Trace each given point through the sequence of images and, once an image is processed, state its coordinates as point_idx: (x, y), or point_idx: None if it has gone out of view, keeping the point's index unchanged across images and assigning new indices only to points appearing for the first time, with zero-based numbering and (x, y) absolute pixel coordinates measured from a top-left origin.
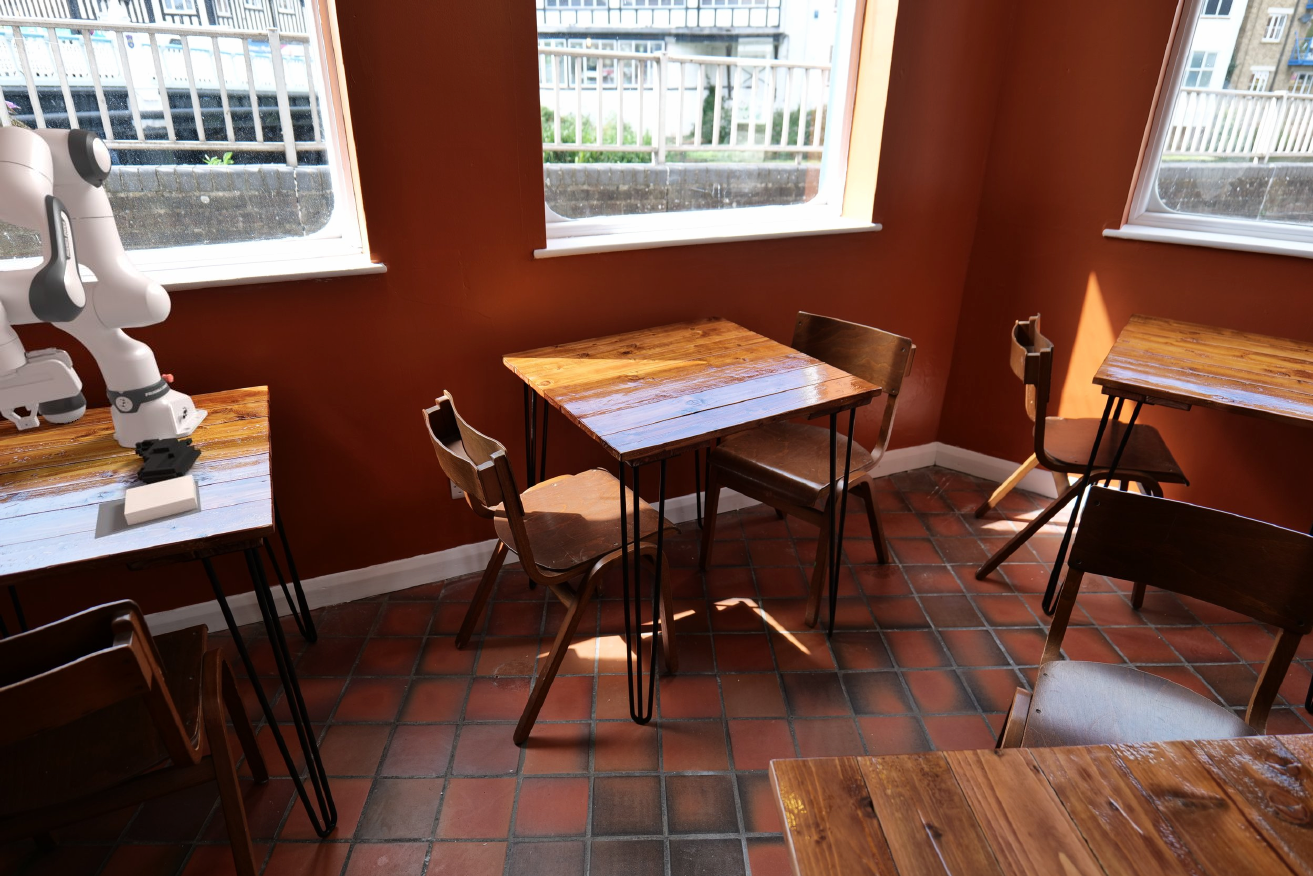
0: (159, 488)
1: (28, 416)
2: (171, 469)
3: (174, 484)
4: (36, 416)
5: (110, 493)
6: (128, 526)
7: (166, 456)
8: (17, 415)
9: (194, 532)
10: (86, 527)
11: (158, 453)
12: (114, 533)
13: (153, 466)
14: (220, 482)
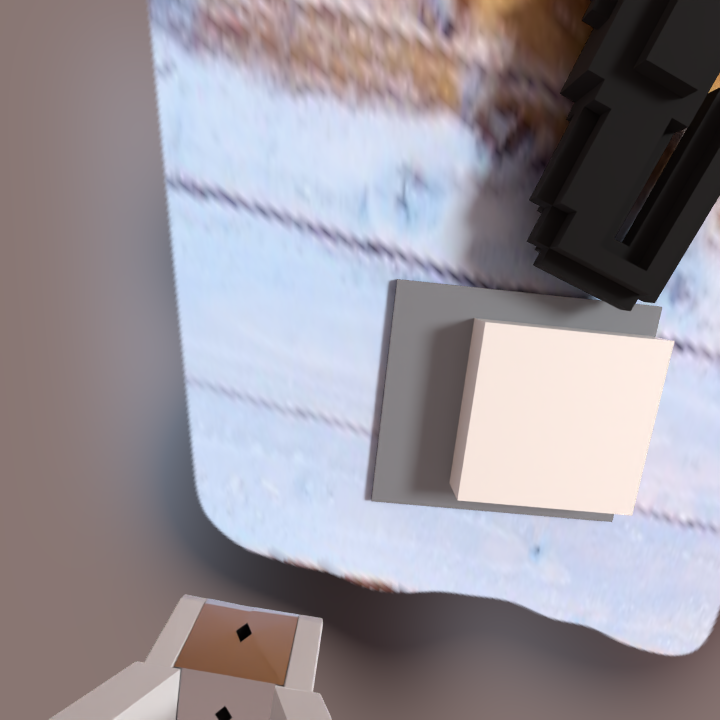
0: (569, 383)
1: (248, 685)
2: (640, 291)
3: (611, 384)
4: (315, 669)
5: (429, 200)
6: (448, 487)
7: (658, 138)
8: (144, 702)
9: (568, 603)
10: (355, 405)
11: (644, 87)
12: (415, 504)
13: (599, 223)
14: (705, 353)
